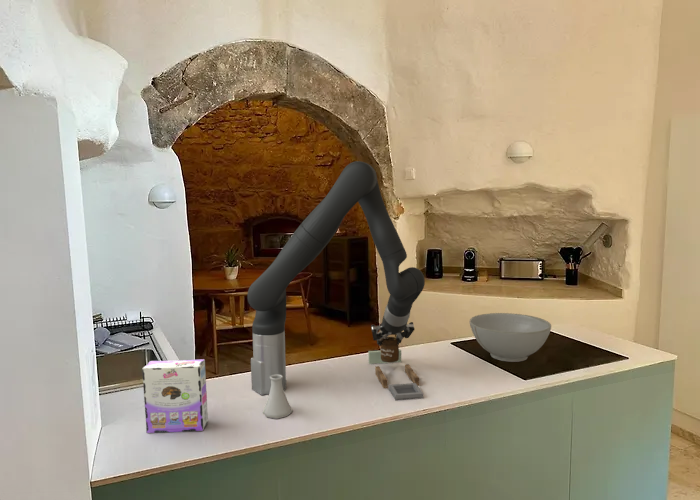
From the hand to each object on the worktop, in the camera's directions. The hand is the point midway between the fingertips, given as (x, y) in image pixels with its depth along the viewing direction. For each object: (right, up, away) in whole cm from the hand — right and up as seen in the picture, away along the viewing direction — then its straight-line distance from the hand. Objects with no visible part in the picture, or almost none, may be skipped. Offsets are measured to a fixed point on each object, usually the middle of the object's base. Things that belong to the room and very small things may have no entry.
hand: (388, 342), depth 165 cm
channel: (+2, -9, -11) cm, 14 cm away
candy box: (-55, -14, -40) cm, 69 cm away
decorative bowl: (+43, -7, +10) cm, 44 cm away
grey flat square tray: (+3, -11, -21) cm, 24 cm away
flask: (-31, -13, -33) cm, 47 cm away
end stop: (-1, -8, +5) cm, 9 cm away
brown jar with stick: (+1, -6, -1) cm, 6 cm away
